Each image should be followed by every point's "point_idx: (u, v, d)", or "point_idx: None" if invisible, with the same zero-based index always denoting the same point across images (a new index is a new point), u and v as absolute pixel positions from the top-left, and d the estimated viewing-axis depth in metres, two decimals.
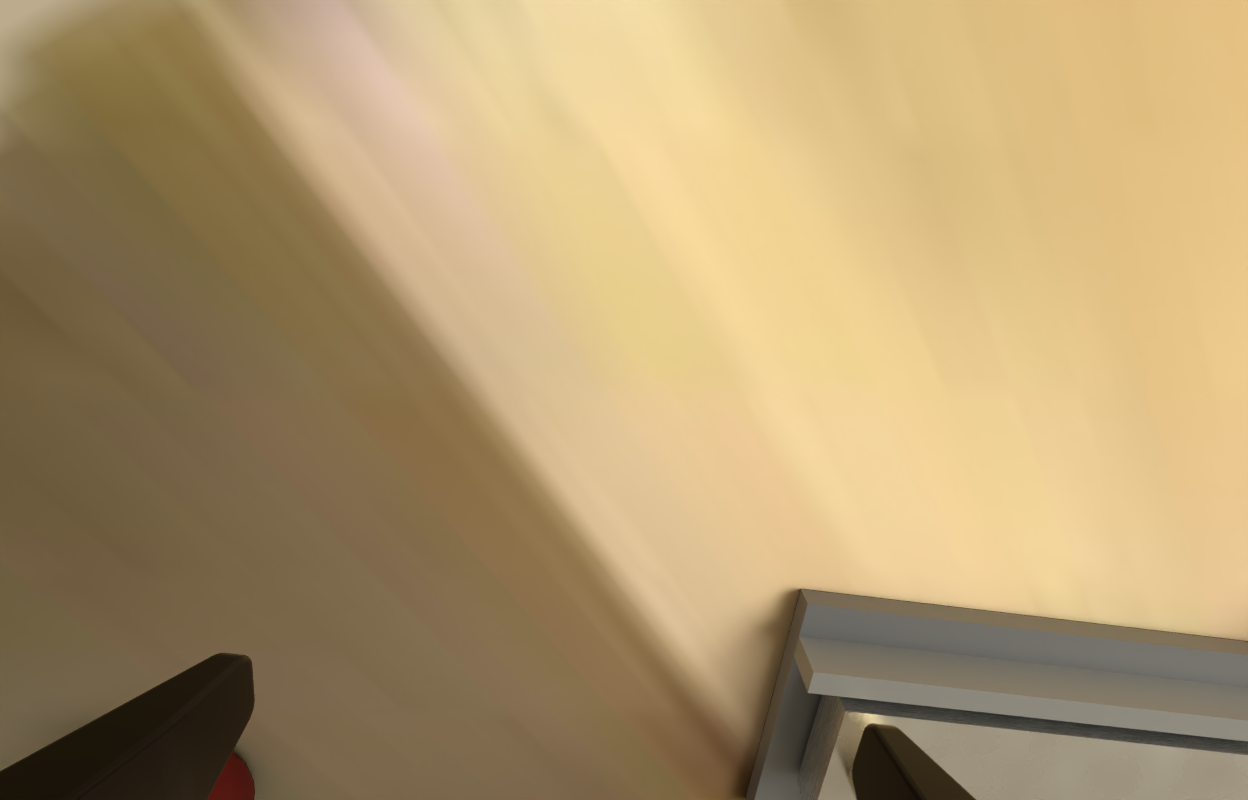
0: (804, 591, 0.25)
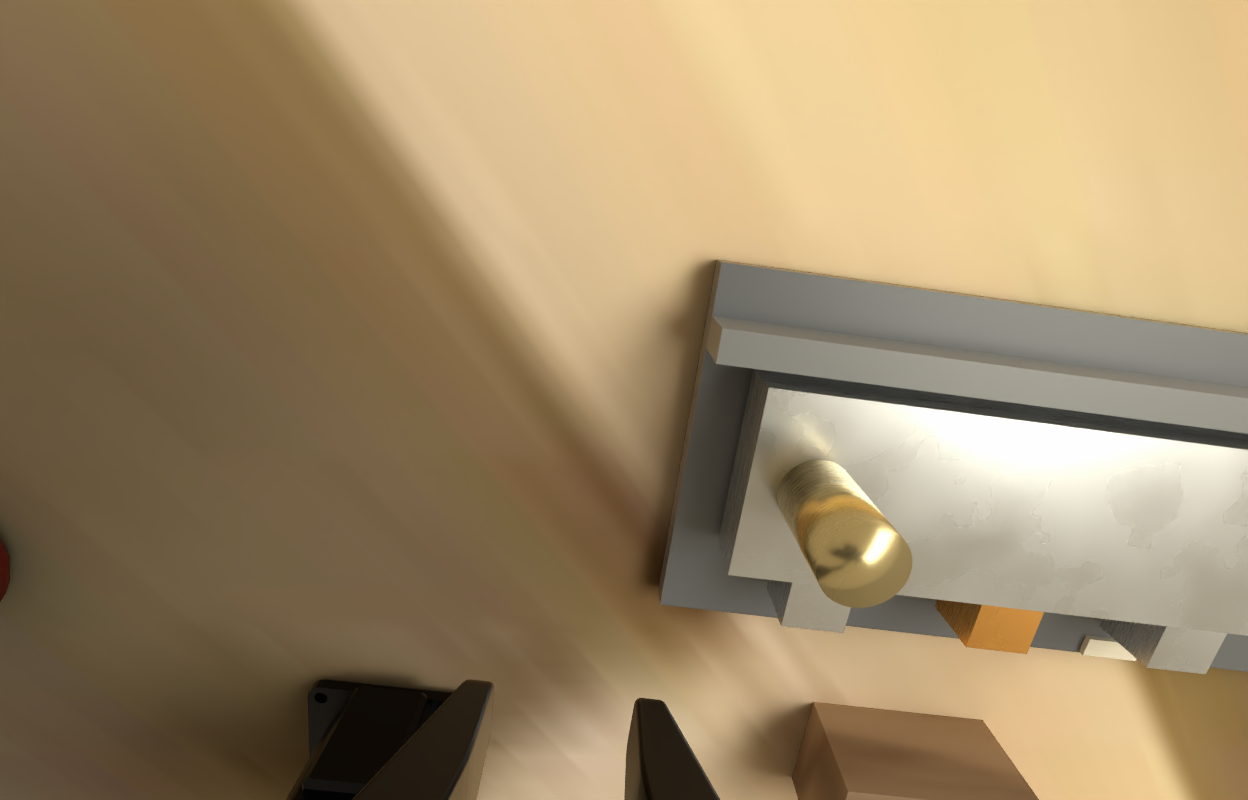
0: (721, 260, 0.18)
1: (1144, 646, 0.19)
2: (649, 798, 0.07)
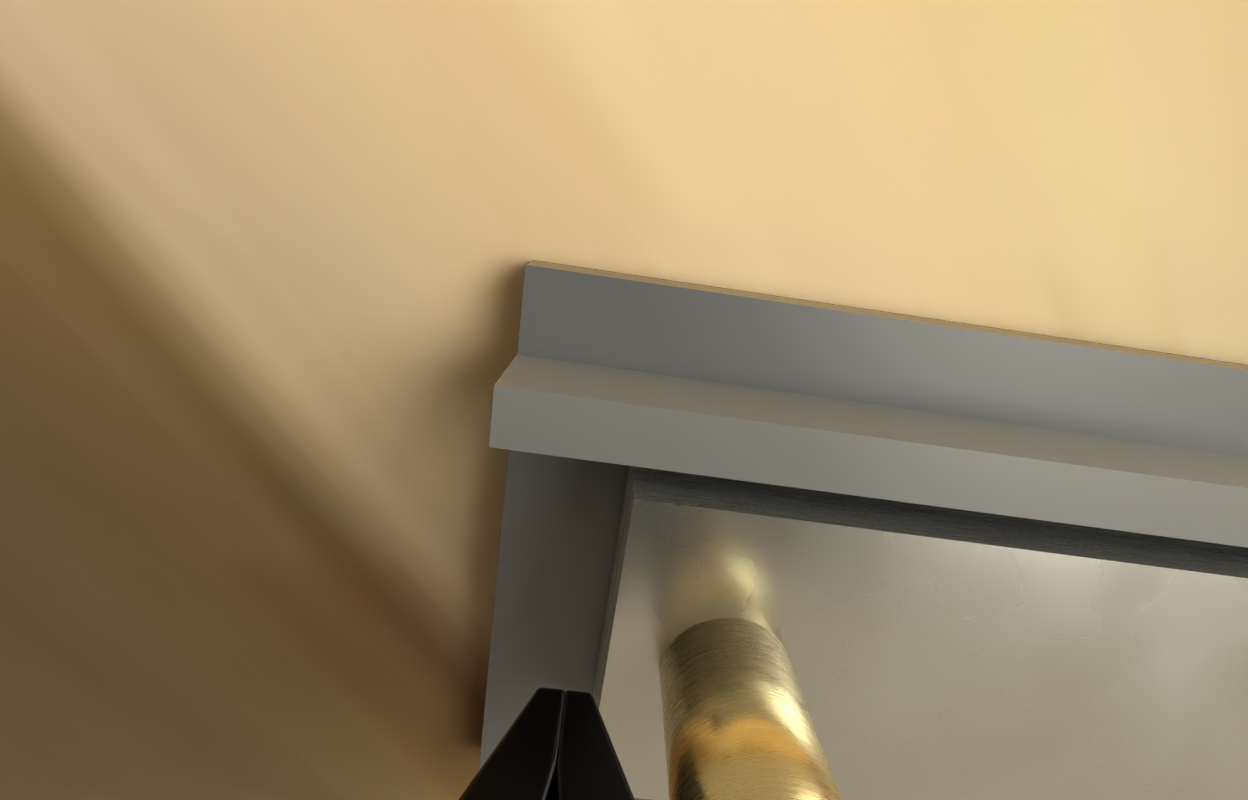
0: (539, 261, 0.11)
1: None
2: (558, 789, 0.07)
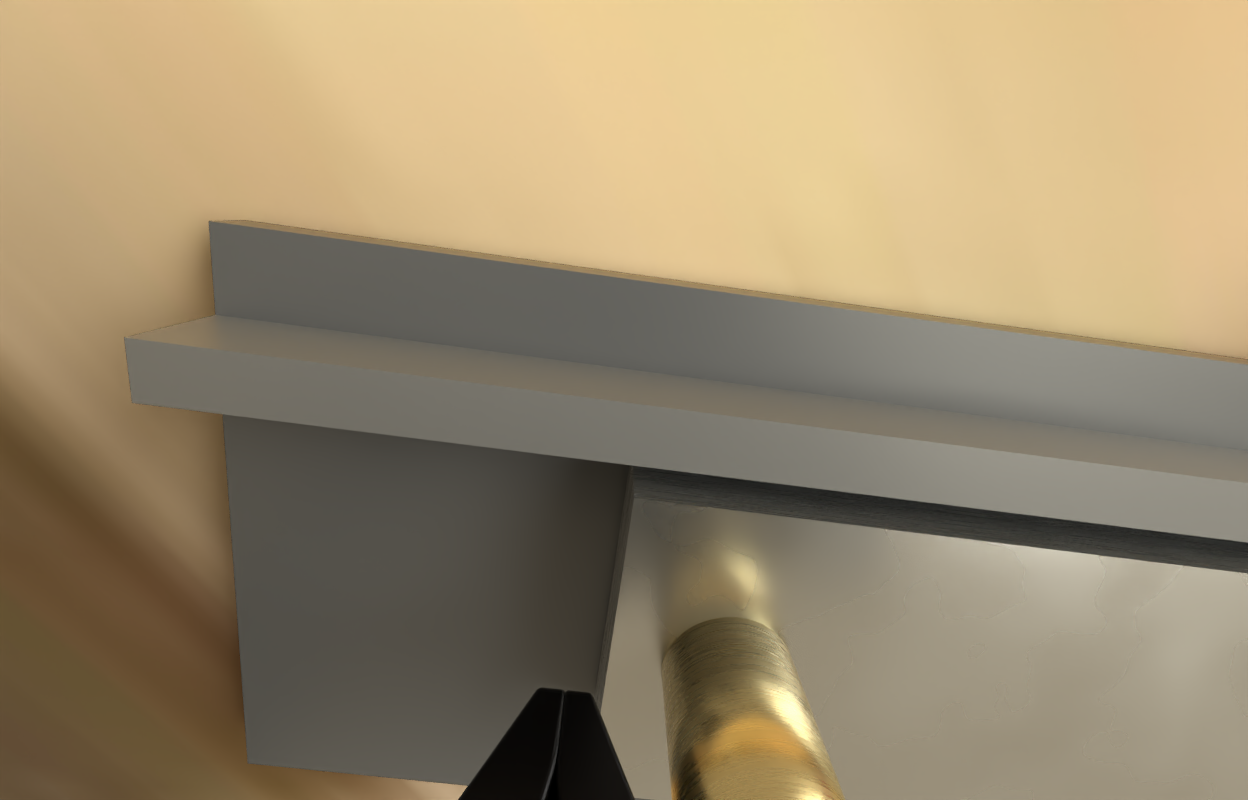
0: (248, 221, 0.11)
1: None
2: (558, 789, 0.07)
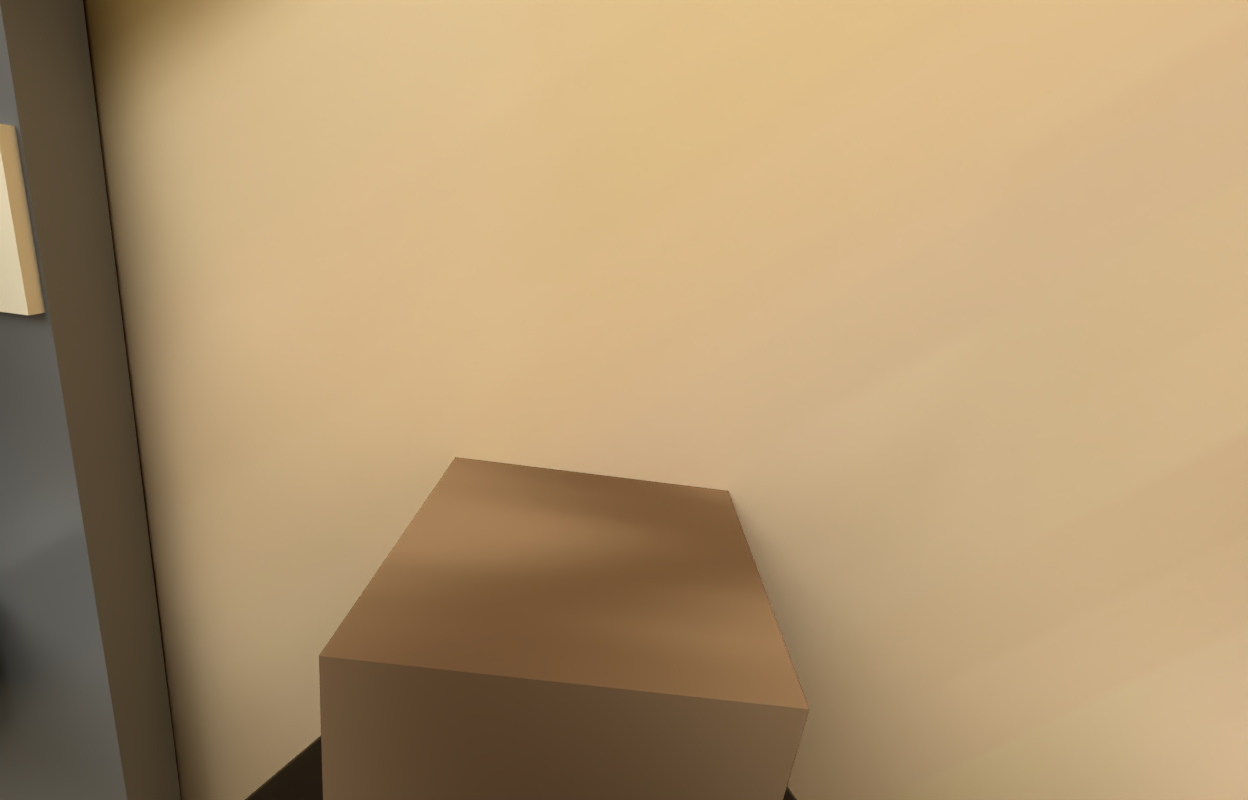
0: None
1: None
2: None
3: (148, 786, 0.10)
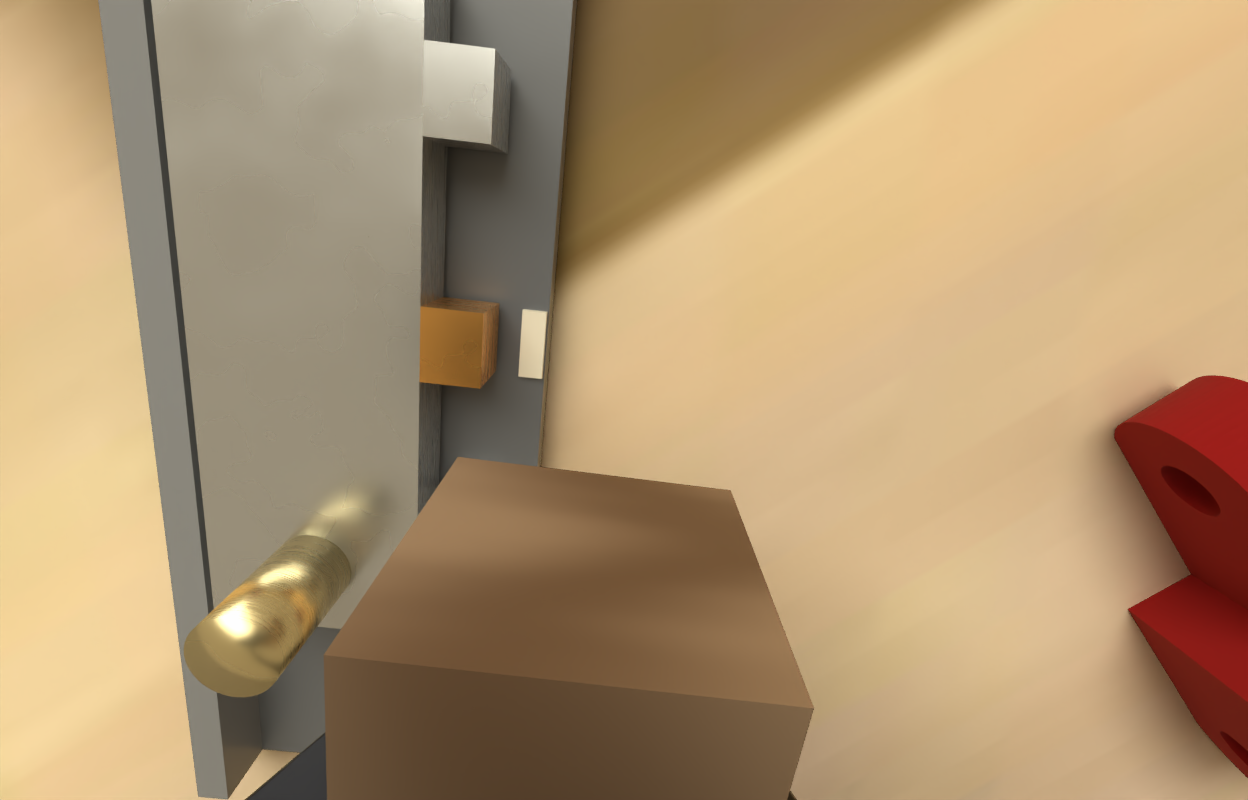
0: None
1: (471, 143, 0.14)
2: None
3: None
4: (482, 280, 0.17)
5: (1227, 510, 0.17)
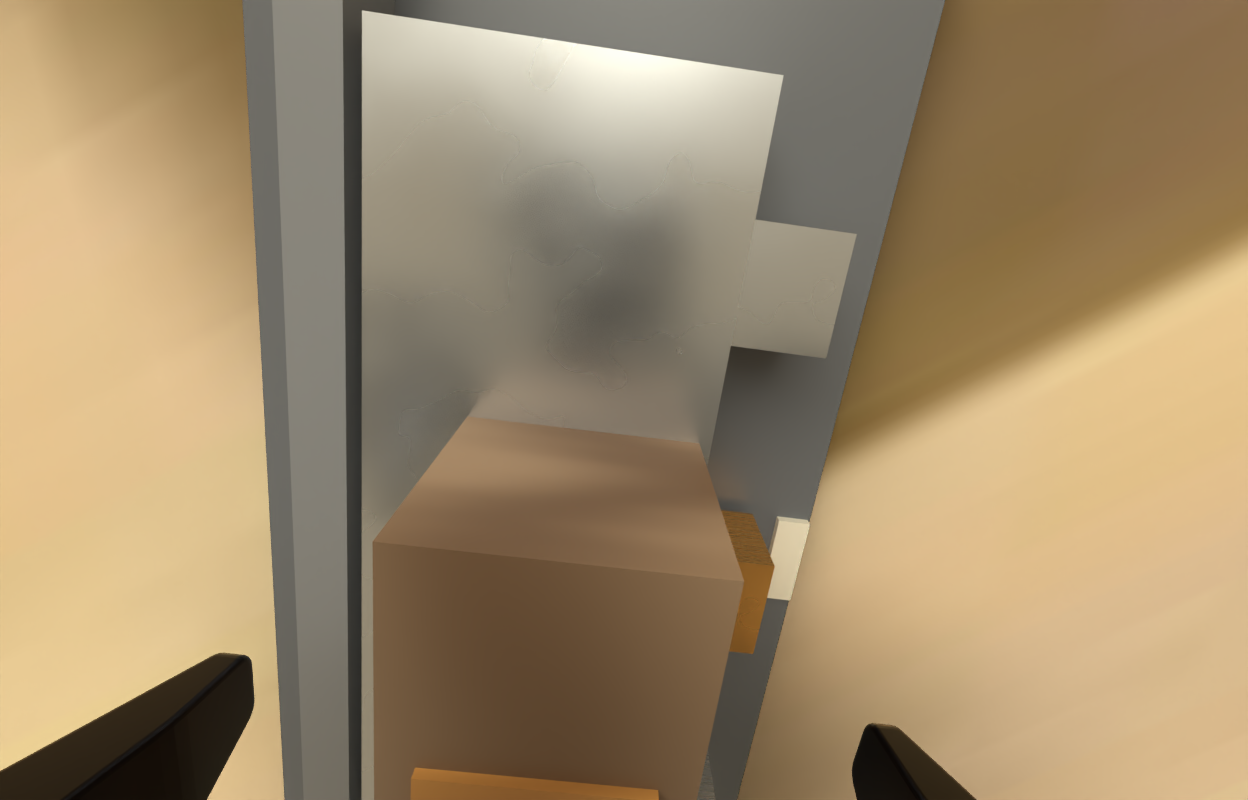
0: None
1: None
2: None
3: None
4: (728, 481, 0.13)
5: None
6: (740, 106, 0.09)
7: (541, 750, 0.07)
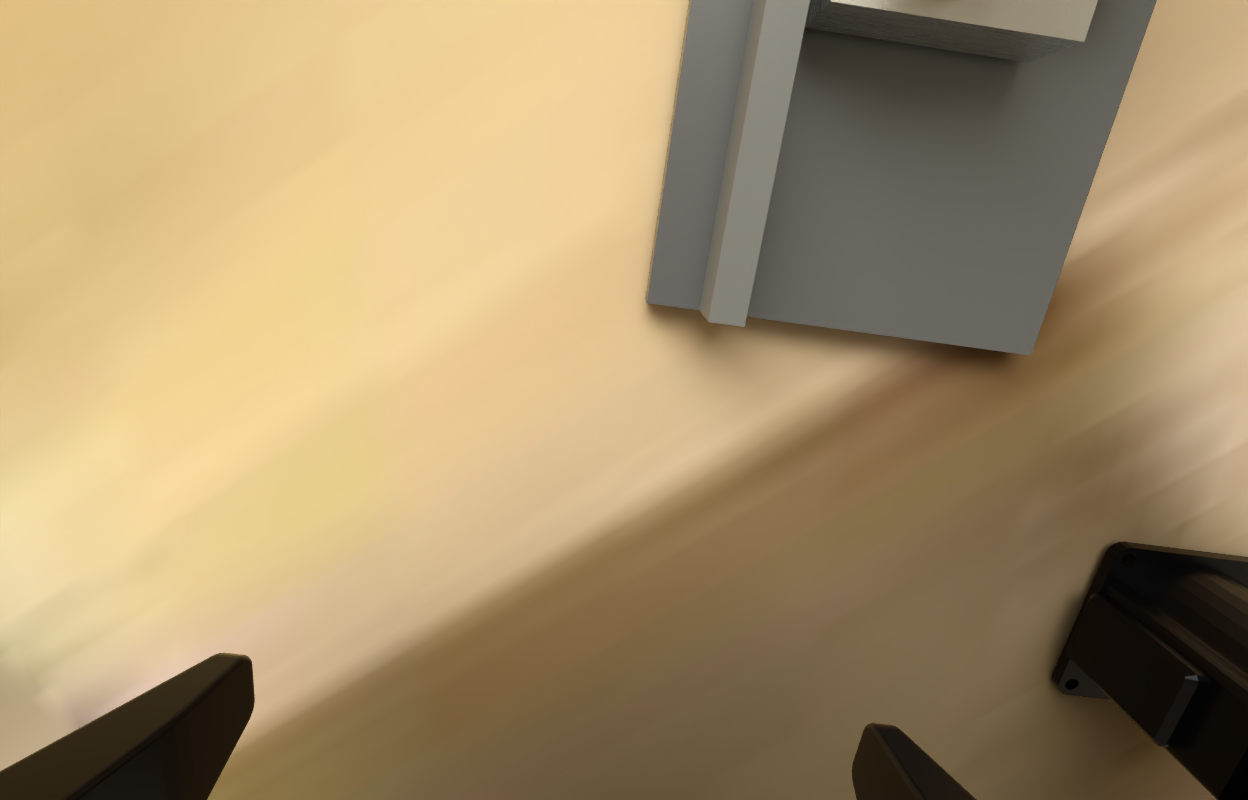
0: (646, 294, 0.19)
1: None
2: None
3: None
4: None
5: None
6: None
7: None
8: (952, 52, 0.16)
